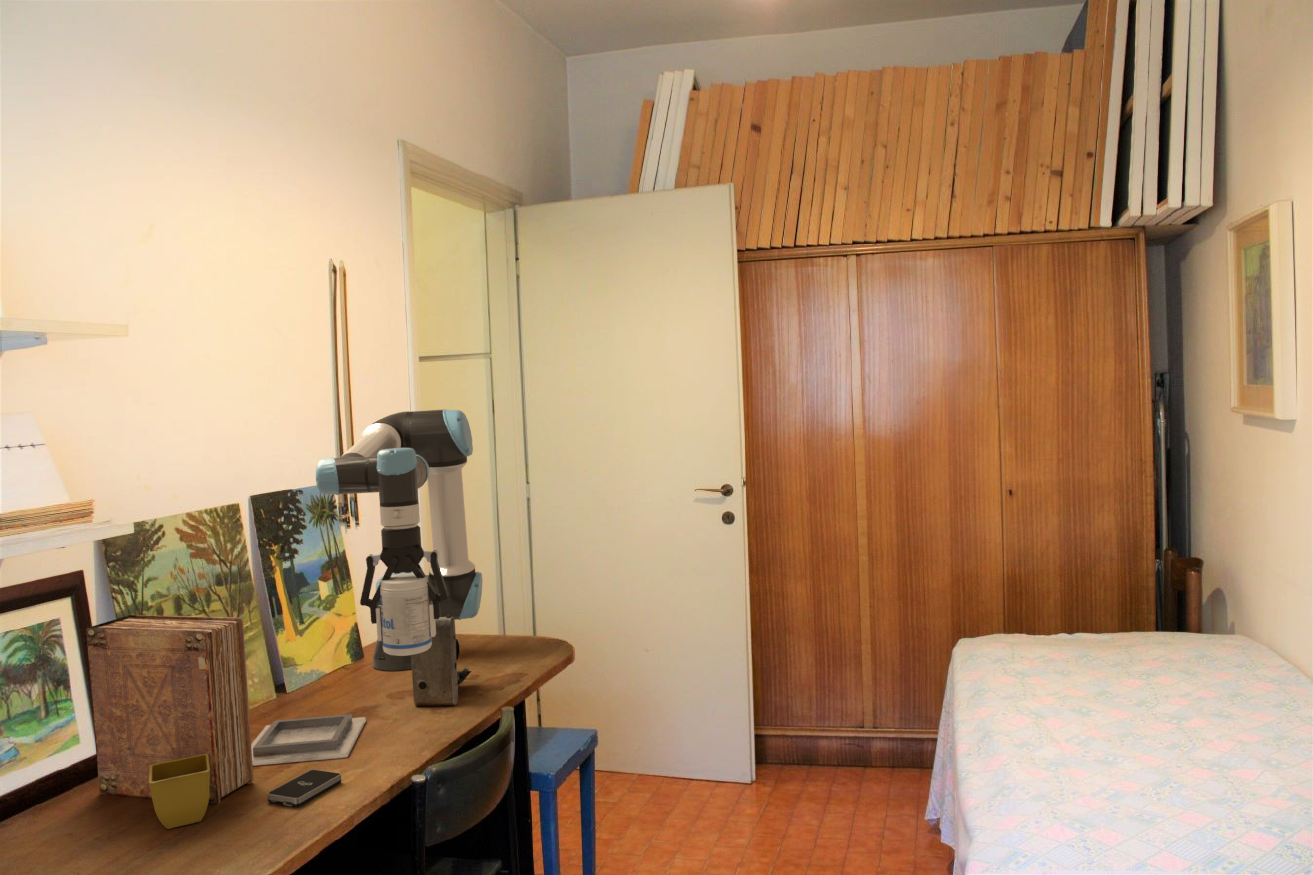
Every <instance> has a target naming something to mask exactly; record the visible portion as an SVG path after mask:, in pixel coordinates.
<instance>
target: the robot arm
mask: <svg viewBox="0 0 1313 875" xmlns="http://www.w3.org/2000/svg"><path fill="white" fill-rule="evenodd" d="M473 452H474V446H473V436H472V430H471V426H470V423H469V420H468V418H467V415H466V414H465V413H464V412H463V411H461V410H460V409H459V410H458V409H445V408H444V409H431V410H429V409H428V410H415V411H399V412H395V413H393V414H389V415H387V416H385V417H382V418H380V419H378V420H376V421H374V422H373V423H371V424H370V425H369V426H367V427H366V428H365V430H363V431H362V433H361V437H360V439H358V441H356V442H355V444H353V445H352V446H351V447H350V448H349V449H347V451H345V452H344V453H343V454H342V455H341V456H340V457H329V458H322V459H320V460H319V461H318V462H317V464H316V468H315V482H316V486H317V489H318V491H319V493H321V494H323V495H336V496H338V495H349V494H350V495H351V494H352V495H353V494H368V493H371V494H373V493H378V496H379V497H378V498H379V515H380V519H379V520H380V525H381V526H382V527H383V528H382V529H381V530H380V532H381V534H380V535H381V552H380V553H379V554H369V555H368V556H366V558H365V561H366V567H367V568H366V573H365V578H364V581H363V582H364V583H363V585H362V586H363V587H362V591H361V597H360V601H359V604H360V606H365V607H368V608H369V610H370V622H371V624H372V625H373V624H376V634H377V637H376V638H377V639H376V643H375V645H374V651H373V653H372V654H373V655H372V658H371V659H372V667H373V668H374V669H376V670H379V671H389V672H391V671H394V672H395V671H405V670H412V660H411V655H407V656H396V655H389V654H387V653H385V652H384V650H383V642H382V623H381V603H380V587H381V582H380V581H381V579H382V580H389V579H390V577H391V575H397V574H407V573H414V575H415V576H416V577H417V578H425V576H426V575H427V576H428V582H427V585H428V586H427V587H428V596H429V597H430V604H429V614H430V631H431V637H435V635H436V624H435V619H439V618H440V617H441V616H447V615H451V616H453V618H454V620H455V621H456V620H459V621H461V620H465V619H467V620H468V619H473V618H475V617H476V616H477V615H478V614H479V610H480V606H481V602H482V593H483V574H482V572H479V571H476V565H475V563H474V562H472V561H471V560H470V559H469V550H468V538H467V525H466V510H465V497H464V483H463V468H464V466H466V465H467V463H468V457H470V456H471V455H473ZM426 482H427V491H428V492H427V493H428V504H429V515H430V527H431V528H430V530H431V540H432V541H431V542H432V550H431V551H430V550H429V551H428V550H424V549H423V547H422V535H421V527H420V526H419V523H420V522H421V518H420V503H419V489H420V488H422V487H423V486H424V485H425V483H426ZM423 558H425V559H426V562H428V563H430V567H429V568H428V574H426V573H425V572H424V571H423V568H422V567H421V564H420V563H421V561H422V559H423ZM380 561H381V562H382V563H383V564H384V566H386V569H385V572H384V574H383V576H381V577H380V578H378V579H377V581H376V583H375V593H374V595H373V597H372V598H371V599H370V594H371V590H372V585H373V579H374V575H375V571H376V567H377V566H378V565H379V562H380Z"/></svg>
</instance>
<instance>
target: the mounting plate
mask: <svg viewBox="0 0 1313 875" xmlns="http://www.w3.org/2000/svg"><path fill="white" fill-rule="evenodd" d="M366 720H367V719H366V716H362V717H353V715H352V714H351V713H348V714H337V715H326V716H314V717H313V716H312V717H302V718H301V717H300V718H289V719H277V720H276V719H275V720H274V721H273V722H272V723H271V724H267V725H265V726H264V728H263V729H262V730H261V731H260V732H259V734H258V735H257V737H256V738H255V739H254V740H253V741H252V742H251V749H252V764H253V767H256V766H267V765H278V764H280V765H281V764H289V763H300V762H310V761H311V762H312V761H322V760H323V761H325V760H333V759H345V758H349V755H350V754H351V752H352V749H353V748H354V746H355V744H356V741H357V740H358V737H359V736H360V734H361V733H362V729H363V728H364V727H365V726H364V725H365V724H366V722H367V721H366Z"/></svg>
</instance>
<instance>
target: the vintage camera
mask: <svg viewBox="0 0 1313 875" xmlns="http://www.w3.org/2000/svg"><path fill="white" fill-rule="evenodd" d="M435 624H436V635H435V637H432V645H431V647H430V648H429V649H428V650H427V651H424V652H422V653H418V654H414V655H411V660H412V669H411V676H412V677H411V678H412V692H413V693H412V694H413V695H412V696H413V699H412V700H413V703H414V706H418V707H420V706H422V707H423V706H430V707H431V706H432V707H433V706H434V707H435V706H437V707H438V706H457V704H458V701H459V686H460V684H462V683H463V682H464V681H465V680H466V679H467V678H468V676H470V674H471V673H472V670H469V668H467V667H464V668H463V669H462V670H458V666H457V661H458V659H459V656H460V642H459V639H457V637H456V635H457V634H456V620H454V618H453V616H451V615H447V616H441V617H440V618H439V619H435Z"/></svg>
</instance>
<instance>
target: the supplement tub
mask: <svg viewBox="0 0 1313 875" xmlns="http://www.w3.org/2000/svg"><path fill="white" fill-rule="evenodd" d="M425 575H426V576H425V578H417V577H416V576H415V575H414V573H407V574H397V575H391V577H390V579H389V580H382V579H381V581H380V582H381V587H380V603H381V623H382V642H383V650H384V652H385V653H387V654H389V655H396V656H407V655H414V654H418V653H422V652H424V651H427V650H428V649H429V648H430V647H431V645H432V637H431V631H430V614H429V604H430V597H429V596H428V587H427V586H428V585H427V582H428V576H427V575H428V574H425Z"/></svg>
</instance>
